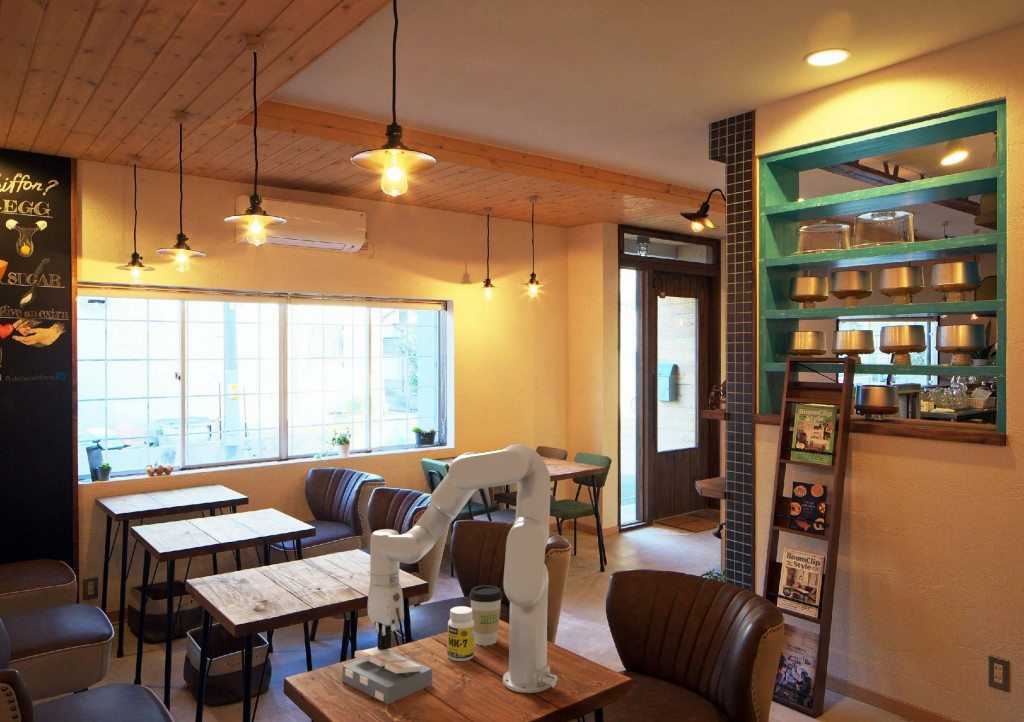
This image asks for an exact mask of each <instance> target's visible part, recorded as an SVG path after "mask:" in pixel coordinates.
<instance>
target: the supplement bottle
mask: <svg viewBox="0 0 1024 722" xmlns="http://www.w3.org/2000/svg"><path fill="white" fill-rule="evenodd" d="M472 616H473V615H472V609H471V607H469V606H465V605H460V606H459V605H458V606H454V607H452V608H450V609H449V620H448V622H447V648H446V649H447V652H446V653H447V657H448V659H449V660H451V661H456V662H465V661H466V662H467V661H469V660H471V659H473V658H474V655H475V639H474V621H473V619H472Z"/></svg>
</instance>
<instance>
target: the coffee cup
mask: <svg viewBox="0 0 1024 722" xmlns="http://www.w3.org/2000/svg"><path fill="white" fill-rule="evenodd" d="M468 598H469V600H470V608H471V609H472V615H473V616H472V619H473V621H474V644H475V645H477V644H478V645H477V646H480V645H483V646H482V647H488V646H487V645H491V646H493V645H492V644H494V643H495V644H496V643H497V640H498V639H497V638H498V630H499V625H500V624H499V623H500V617H501V609H502V607H501V602H502V599H503V598H504V597H503V593H502V591H501V589H500V587H498V586H496V585H487V584H486V585H477V586H474V587H472V588H471V590H470V592H469V594H468ZM495 644H494V645H495Z"/></svg>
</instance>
